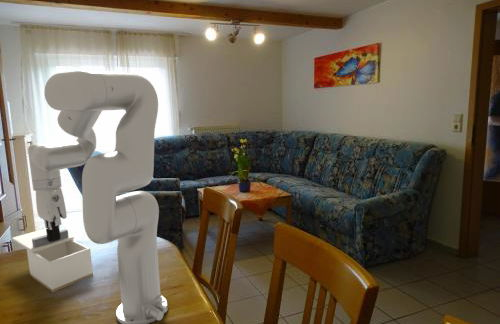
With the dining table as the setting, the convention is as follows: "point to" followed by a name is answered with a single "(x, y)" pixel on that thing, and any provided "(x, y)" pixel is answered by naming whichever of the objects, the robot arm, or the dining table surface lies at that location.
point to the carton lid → (40, 240)
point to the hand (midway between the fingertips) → (54, 240)
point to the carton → (60, 264)
